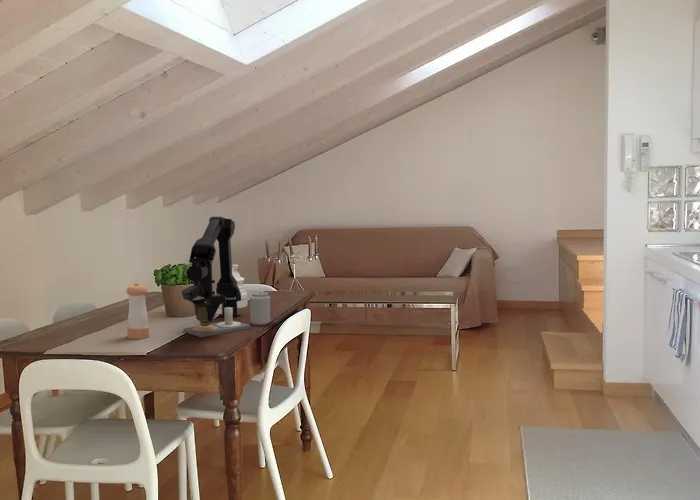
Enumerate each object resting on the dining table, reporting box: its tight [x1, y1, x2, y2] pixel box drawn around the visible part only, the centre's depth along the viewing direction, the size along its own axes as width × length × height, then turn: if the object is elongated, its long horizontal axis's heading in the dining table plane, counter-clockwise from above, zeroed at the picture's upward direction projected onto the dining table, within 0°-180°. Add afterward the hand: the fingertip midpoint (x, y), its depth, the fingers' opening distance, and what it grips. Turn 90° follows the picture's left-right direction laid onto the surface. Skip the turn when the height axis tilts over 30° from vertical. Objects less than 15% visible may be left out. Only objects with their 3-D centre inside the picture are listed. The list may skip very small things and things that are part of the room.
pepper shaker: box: [126, 282, 150, 340], centre depth 246 cm, size 7×7×19 cm
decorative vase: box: [193, 302, 211, 326], centre depth 254 cm, size 8×7×8 cm
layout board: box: [183, 307, 251, 338], centre depth 258 cm, size 12×21×8 cm, turn 133°
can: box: [249, 291, 271, 326], centre depth 268 cm, size 8×8×12 cm
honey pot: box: [219, 264, 249, 309], centre depth 304 cm, size 13×13×18 cm
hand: (205, 320), depth 254 cm, fingers closed on decorative vase, 6 cm apart
